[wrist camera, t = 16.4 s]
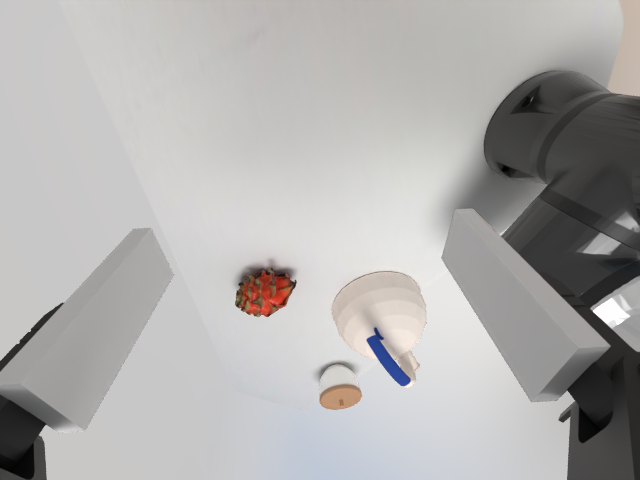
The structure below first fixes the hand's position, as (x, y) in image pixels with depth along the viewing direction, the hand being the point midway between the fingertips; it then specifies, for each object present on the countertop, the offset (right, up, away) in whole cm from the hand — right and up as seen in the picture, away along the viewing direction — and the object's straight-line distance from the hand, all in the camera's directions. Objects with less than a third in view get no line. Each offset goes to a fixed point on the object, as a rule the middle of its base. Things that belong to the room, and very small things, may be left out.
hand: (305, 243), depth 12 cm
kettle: (+13, -14, +50) cm, 53 cm away
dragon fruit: (-10, -7, +41) cm, 43 cm away
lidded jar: (+5, -36, +63) cm, 72 cm away
